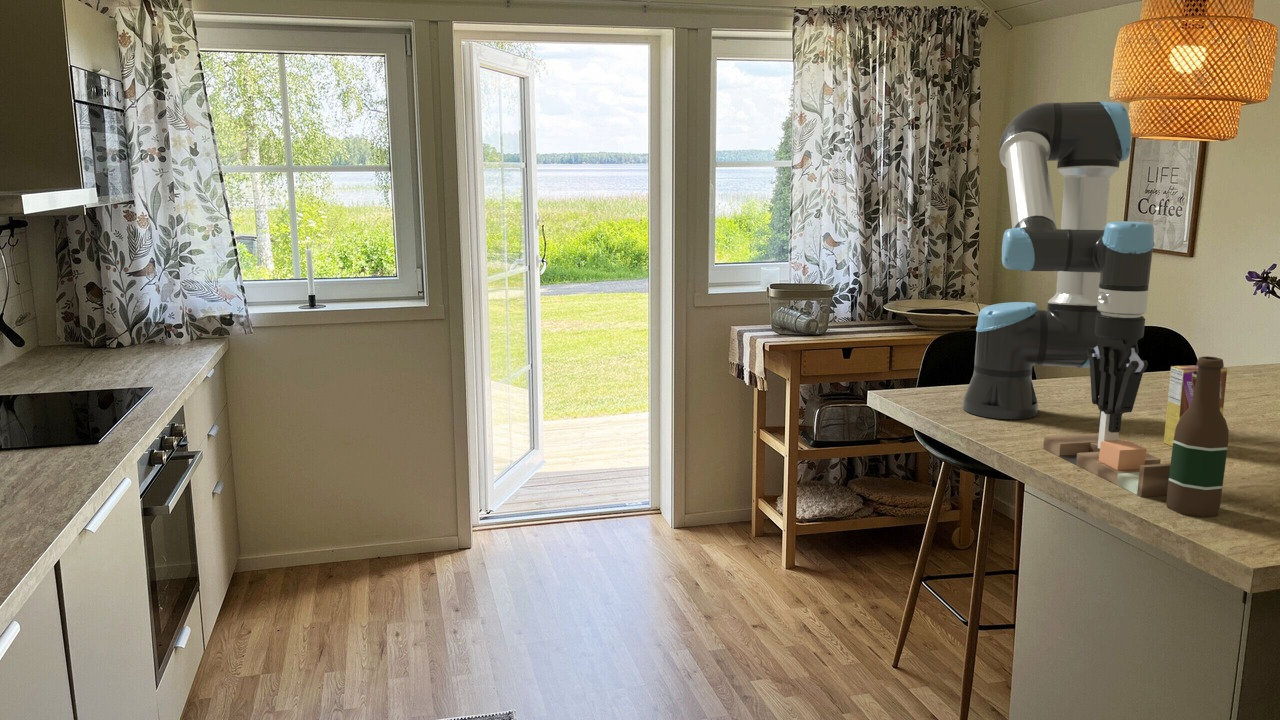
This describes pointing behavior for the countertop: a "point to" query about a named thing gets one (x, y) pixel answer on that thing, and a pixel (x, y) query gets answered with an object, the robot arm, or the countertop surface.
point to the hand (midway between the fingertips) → (1107, 448)
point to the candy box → (1184, 396)
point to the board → (1086, 456)
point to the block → (1122, 454)
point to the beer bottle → (1200, 447)
